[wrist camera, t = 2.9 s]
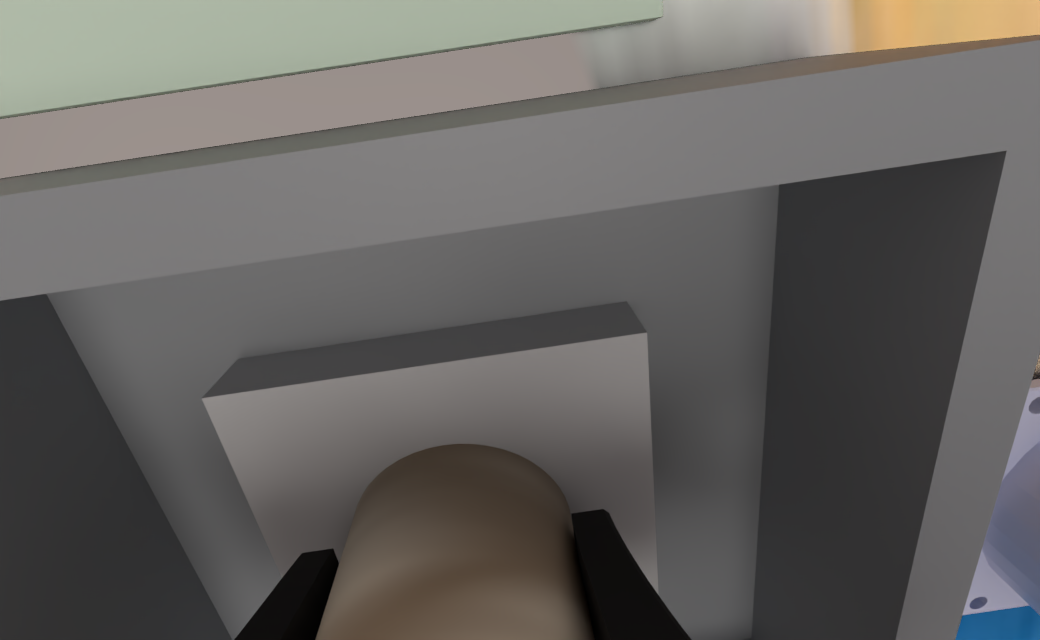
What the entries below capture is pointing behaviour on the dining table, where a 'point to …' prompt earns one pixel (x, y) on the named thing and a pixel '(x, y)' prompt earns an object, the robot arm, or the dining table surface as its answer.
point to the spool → (459, 554)
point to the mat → (251, 40)
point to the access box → (541, 342)
